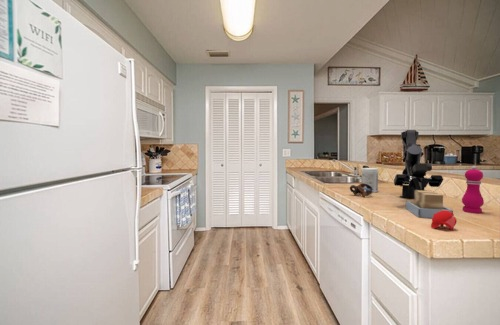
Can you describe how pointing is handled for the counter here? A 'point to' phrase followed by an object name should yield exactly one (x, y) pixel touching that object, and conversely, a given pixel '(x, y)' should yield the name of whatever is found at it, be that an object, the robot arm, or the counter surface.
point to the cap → (443, 219)
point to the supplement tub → (370, 178)
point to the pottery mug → (361, 189)
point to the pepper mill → (473, 191)
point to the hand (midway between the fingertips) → (422, 195)
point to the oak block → (428, 199)
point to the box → (424, 210)
